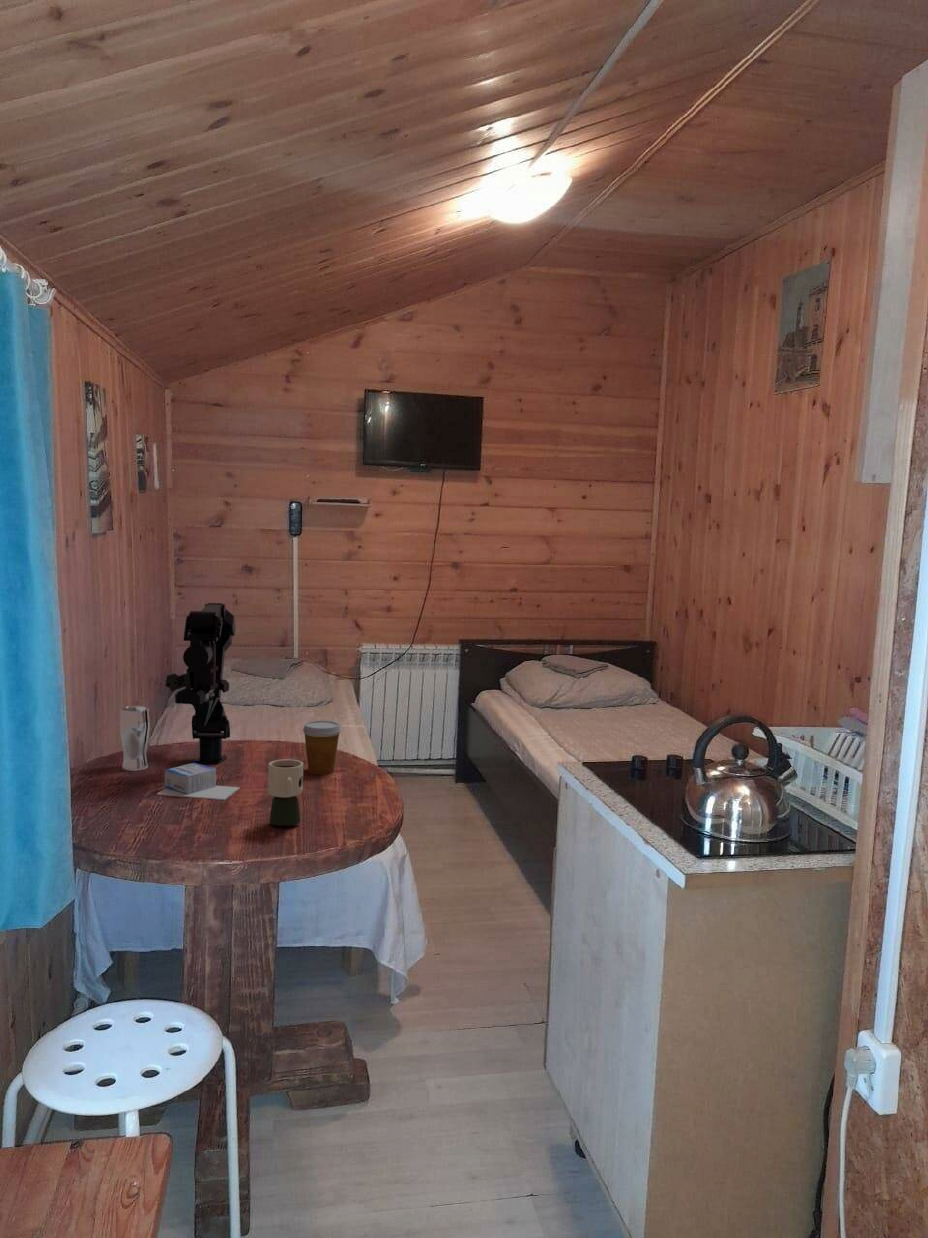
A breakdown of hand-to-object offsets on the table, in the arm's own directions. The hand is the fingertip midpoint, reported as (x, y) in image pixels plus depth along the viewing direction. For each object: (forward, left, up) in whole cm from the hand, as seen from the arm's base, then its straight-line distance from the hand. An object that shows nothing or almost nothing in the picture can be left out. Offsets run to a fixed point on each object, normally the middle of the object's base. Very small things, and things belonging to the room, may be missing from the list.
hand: (202, 726), depth 222 cm
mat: (+13, +5, -12) cm, 19 cm away
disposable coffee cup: (-10, +27, -12) cm, 31 cm away
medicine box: (+8, +4, -10) cm, 13 cm away
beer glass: (-1, -18, -12) cm, 22 cm away
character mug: (+30, +31, -12) cm, 45 cm away
